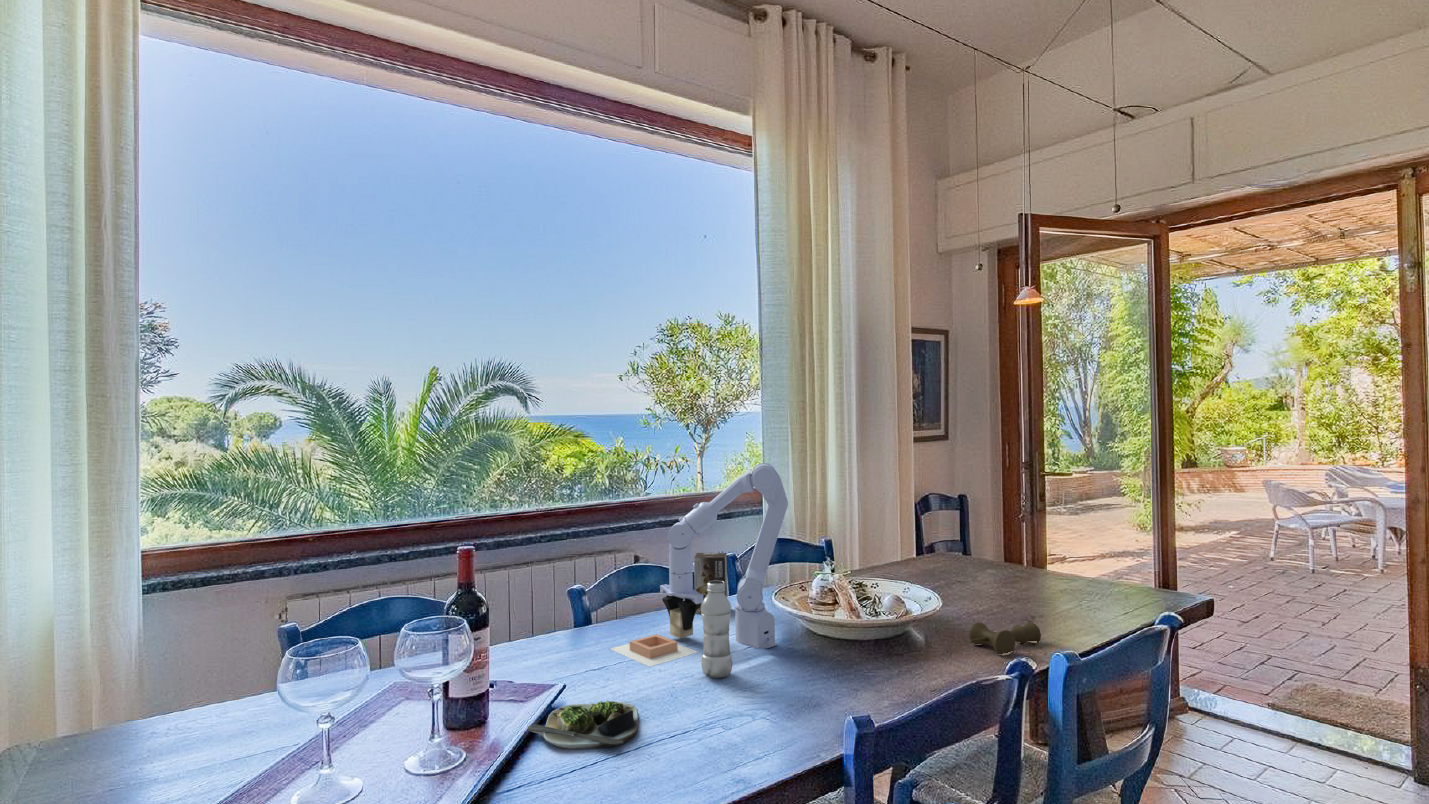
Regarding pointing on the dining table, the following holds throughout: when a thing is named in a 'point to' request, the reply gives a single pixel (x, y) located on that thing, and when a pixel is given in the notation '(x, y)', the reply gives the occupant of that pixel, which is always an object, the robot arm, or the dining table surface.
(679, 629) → the birch peg
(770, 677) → the dining table surface
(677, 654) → the cream flat mat
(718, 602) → the plastic bottle
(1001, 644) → the olive double spool shape
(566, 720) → the salad plate
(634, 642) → the terracotta holder
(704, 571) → the coffee box
